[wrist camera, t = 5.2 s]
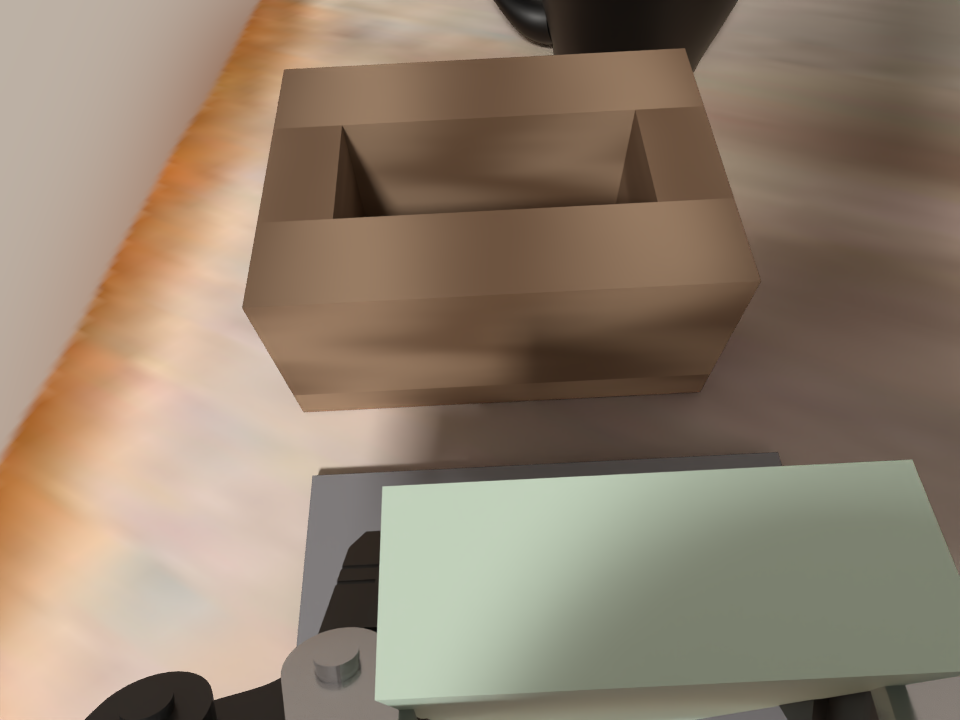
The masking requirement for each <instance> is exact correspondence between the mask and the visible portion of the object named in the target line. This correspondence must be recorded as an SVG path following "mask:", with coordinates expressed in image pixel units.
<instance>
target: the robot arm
mask: <svg viewBox="0 0 960 720" xmlns="http://www.w3.org/2000/svg"><path fill="white" fill-rule="evenodd" d="M380 539H381V531H366V532H365V533H364V534H363V535H362V536H361V537H360V538H358V539H357V540H356V541H355V542H354V543H353V544H352V545H351V546H350V547H349V548H348V551H347V554H346V557H345V559H344V562H343V565H342V569H341V571H340V574H339V576H338V579H337V585H335V588H334V590H333V593H332V596H331V599H330V602H329V605H328V607H327V610H326V613H325V616H324V619H323V621H322V624H321V627H320V630H319V633H318V634H317V635H315V636H313V637H311V638H309V639H307V640H306V641H304V642H303V643H301V644H300V645H299V646H297V647H296V648H295V649H294V650H293V651H292V652H291V653H290V654H289V656H288V657H287V658H286V660H285V662H284V664H283V666H282V670H281V678H279V679H278V680H276V681H274V682H271V683H269V684H267V685H264V686H261V687H258V688H255V689H252V690H249V691H245V692H242V693H238V694H234V695H231V696H227V697H224V698H220V699H217V700H214V699H213V693H212V689H211V686H210V684H209V683H208V681H207V680H206V679H204V678H203V677H202V676H199V675H197V674H194V673H190V672H180V671H177V672H166V673H161V674H156V675H153V676H149V677H146V678H144V679H141V680H138V681H136V682H134V683H132V684H130V685H128V686H126V687H124V688H122V689H121V690H119V691H117V692H116V693H114V694H113V695H111V696H110V697H109V698H107V699H106V700H105V701H104V702H103V703H102V704H100V705H99V706H98V707H97V708H96V709H95V710H94V711H93V712H92V713H91V714H90V715H89V716H88V717H87V718H86V719H85V720H430V719H428V718H426V719H421V718H418V717H417V716H416V714H415V711H414V709H405V710H398V709H395V708H393V707H390V706H388V705H385V704H383V703H380V702H378V701H375V677H376V649H377V621H378V594H379V566H380ZM779 706H780V708H781V710H782V711H783V713H784V715H785V717H786V718H787V720H960V676H957V677H951V678H945V679H939V680H932V681H926V682H920V683H914V684H908V685H895V686H883V687H880V688H876V689H873V690H870V691H866V692H860V693H854V694H848V695H842V696H836V697H830V698H824V699H813V700H807V701H801V702H795V703H789V704H783V705H779Z"/></svg>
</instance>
